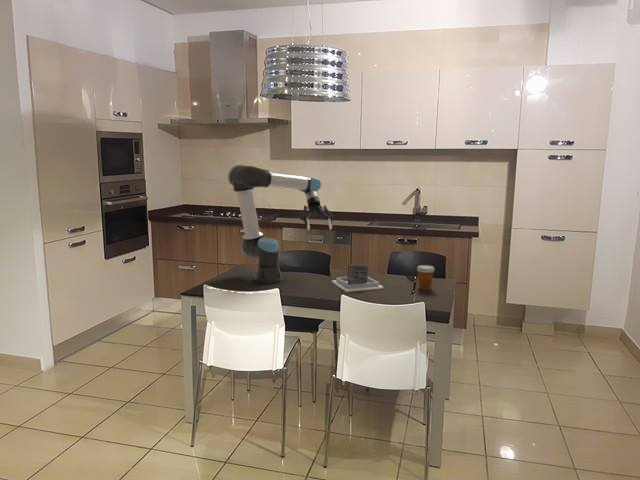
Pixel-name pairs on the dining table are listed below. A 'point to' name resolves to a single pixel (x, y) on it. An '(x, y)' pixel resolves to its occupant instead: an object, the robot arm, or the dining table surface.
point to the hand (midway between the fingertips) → (320, 228)
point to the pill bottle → (425, 276)
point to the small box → (357, 273)
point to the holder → (343, 284)
